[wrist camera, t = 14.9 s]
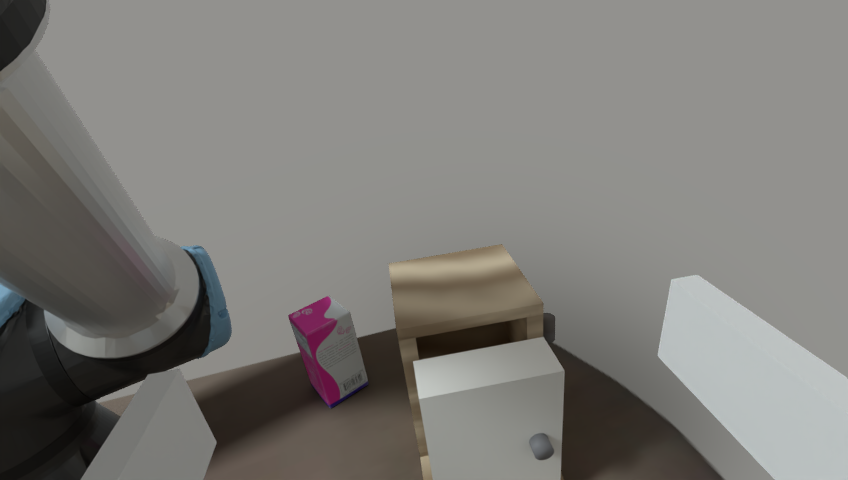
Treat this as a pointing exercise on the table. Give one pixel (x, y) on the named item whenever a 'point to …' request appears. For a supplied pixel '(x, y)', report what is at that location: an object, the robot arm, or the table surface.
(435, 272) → the cabinet
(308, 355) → the supplement box
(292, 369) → the table surface
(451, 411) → the door
